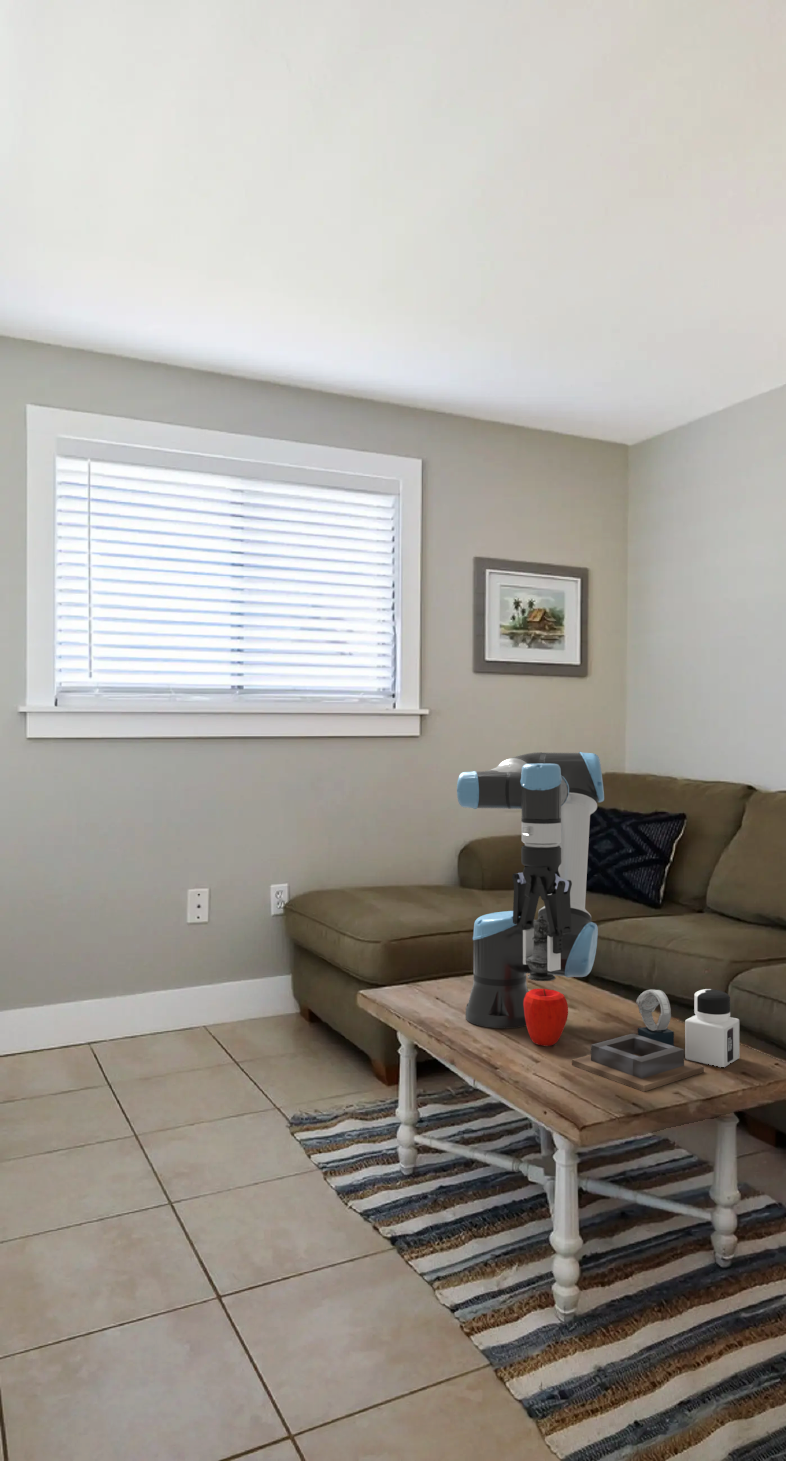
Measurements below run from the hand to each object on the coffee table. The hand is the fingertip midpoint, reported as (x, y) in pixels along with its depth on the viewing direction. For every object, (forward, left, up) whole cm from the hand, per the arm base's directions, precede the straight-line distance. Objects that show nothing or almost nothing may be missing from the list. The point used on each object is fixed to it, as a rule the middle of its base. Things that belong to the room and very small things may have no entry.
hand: (541, 966), depth 181 cm
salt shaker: (0, 0, -2) cm, 2 cm away
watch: (+5, +27, -19) cm, 33 cm away
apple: (-9, +10, -19) cm, 23 cm away
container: (+17, +29, -19) cm, 38 cm away
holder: (+12, +13, -19) cm, 26 cm away
